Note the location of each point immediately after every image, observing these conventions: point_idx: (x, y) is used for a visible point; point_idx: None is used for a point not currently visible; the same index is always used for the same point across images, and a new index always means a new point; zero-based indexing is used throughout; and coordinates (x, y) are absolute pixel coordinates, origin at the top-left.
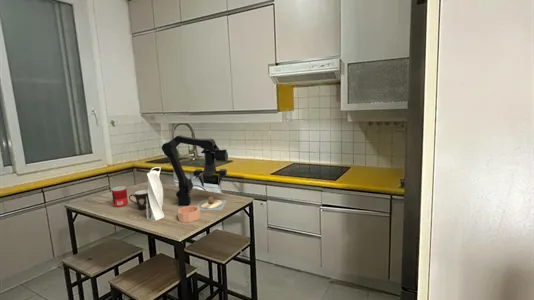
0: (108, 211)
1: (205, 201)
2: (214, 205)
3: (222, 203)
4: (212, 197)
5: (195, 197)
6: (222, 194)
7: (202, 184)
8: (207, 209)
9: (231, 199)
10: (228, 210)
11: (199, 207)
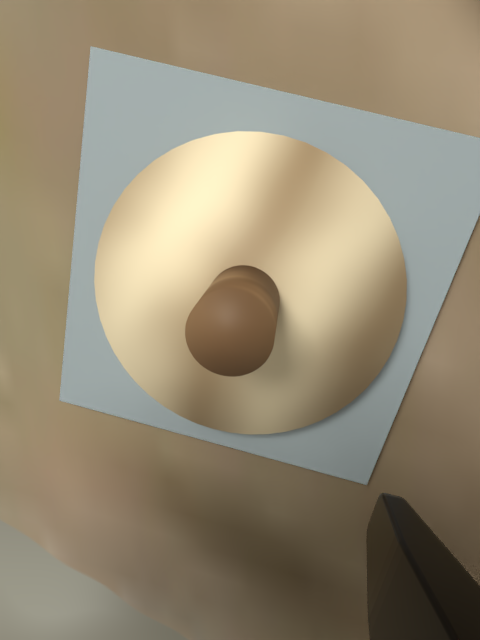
0: None
1: (321, 396)
2: (191, 195)
3: None
4: (196, 304)
5: None
6: (135, 598)
7: (425, 547)
8: (297, 116)
9: (22, 432)
10: (3, 38)
11: (413, 235)
